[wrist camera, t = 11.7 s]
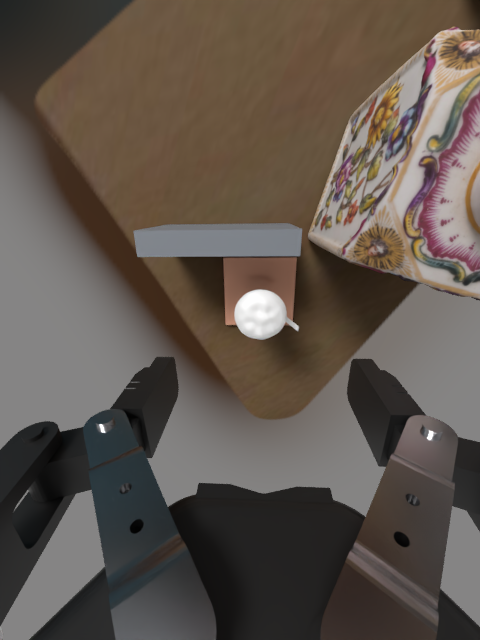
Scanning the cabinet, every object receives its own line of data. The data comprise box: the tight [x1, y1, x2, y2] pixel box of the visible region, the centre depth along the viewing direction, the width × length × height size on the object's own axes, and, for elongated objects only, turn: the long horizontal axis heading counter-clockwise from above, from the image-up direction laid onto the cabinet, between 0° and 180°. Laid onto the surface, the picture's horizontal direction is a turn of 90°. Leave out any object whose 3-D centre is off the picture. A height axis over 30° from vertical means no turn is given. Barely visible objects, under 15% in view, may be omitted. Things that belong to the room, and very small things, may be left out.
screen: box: [134, 223, 302, 257], centre depth 26 cm, size 13×2×9 cm, turn 91°
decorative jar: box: [308, 27, 480, 300], centre depth 19 cm, size 12×12×18 cm
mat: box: [223, 257, 297, 325], centre depth 32 cm, size 8×8×1 cm
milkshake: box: [234, 276, 299, 340], centre depth 27 cm, size 4×5×10 cm
